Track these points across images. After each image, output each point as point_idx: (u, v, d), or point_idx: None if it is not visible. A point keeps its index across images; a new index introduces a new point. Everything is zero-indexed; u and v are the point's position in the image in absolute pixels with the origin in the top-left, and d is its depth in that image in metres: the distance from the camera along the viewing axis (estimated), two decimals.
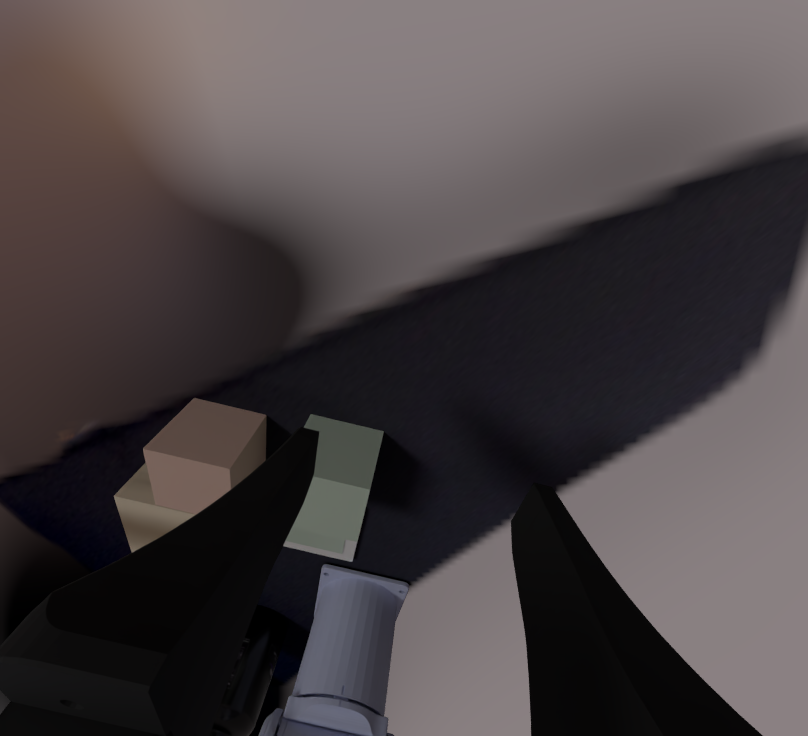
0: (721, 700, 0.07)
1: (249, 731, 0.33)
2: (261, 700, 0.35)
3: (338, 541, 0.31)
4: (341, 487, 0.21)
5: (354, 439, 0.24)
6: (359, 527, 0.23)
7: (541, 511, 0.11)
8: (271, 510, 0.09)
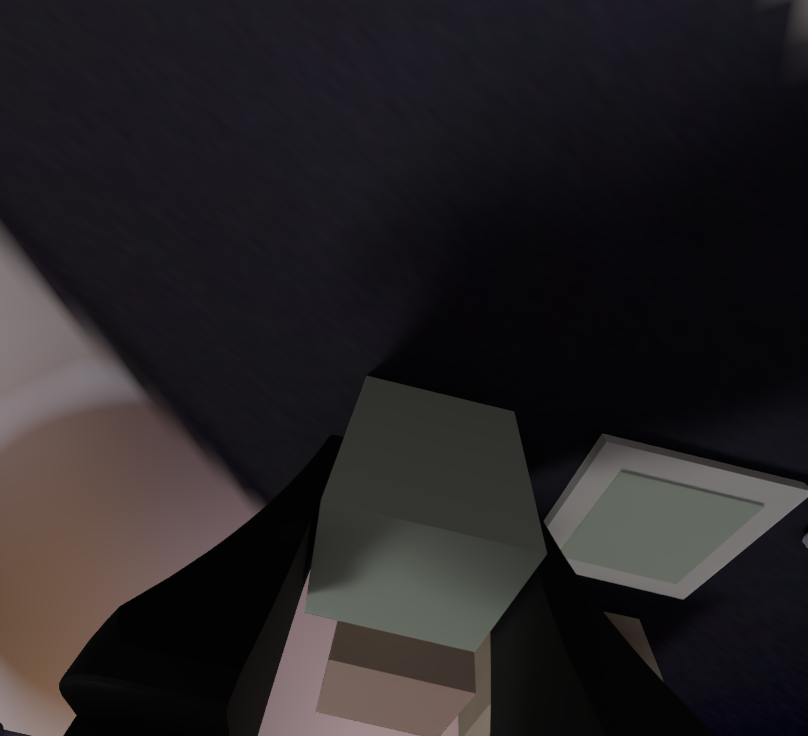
0: (665, 687, 0.07)
1: None
2: None
3: (708, 505, 0.13)
4: (329, 546, 0.09)
5: None
6: (479, 540, 0.08)
7: None
8: (313, 520, 0.09)
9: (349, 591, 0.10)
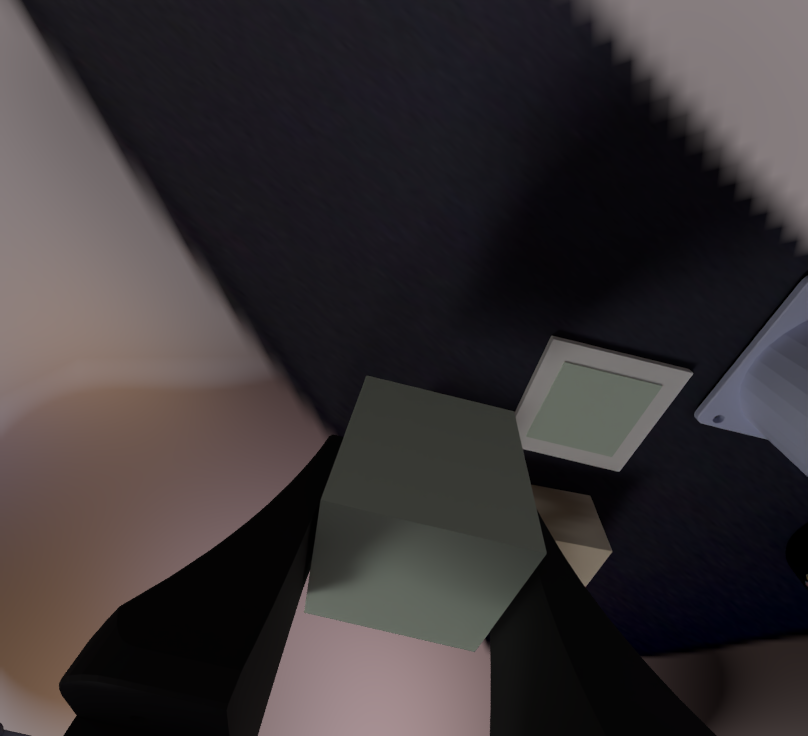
0: (665, 687, 0.07)
1: None
2: None
3: (625, 386, 0.19)
4: (329, 546, 0.09)
5: None
6: (479, 539, 0.08)
7: None
8: (313, 520, 0.09)
9: (349, 591, 0.10)
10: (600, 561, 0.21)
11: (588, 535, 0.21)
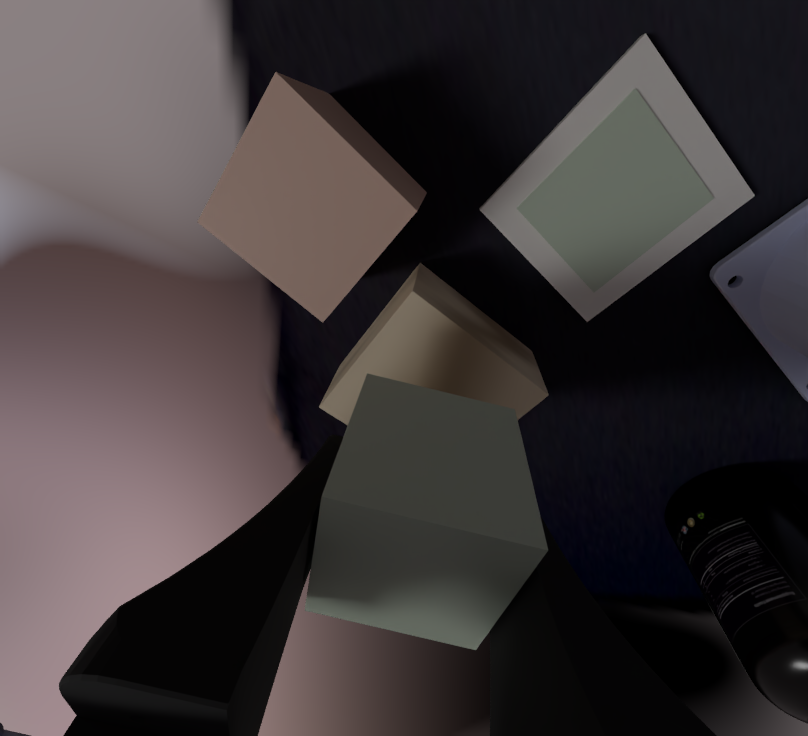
0: (665, 687, 0.07)
1: None
2: None
3: (676, 176, 0.14)
4: (330, 543, 0.09)
5: None
6: (480, 536, 0.08)
7: None
8: (313, 520, 0.09)
9: (350, 588, 0.10)
10: (526, 407, 0.16)
11: (526, 370, 0.16)
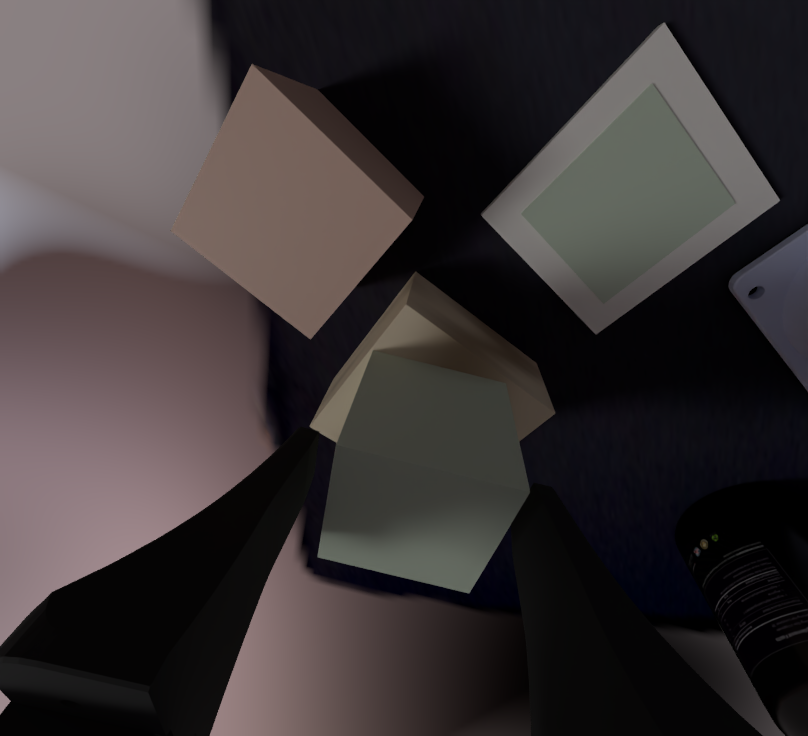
0: (721, 700, 0.07)
1: None
2: None
3: (694, 179, 0.12)
4: (342, 490, 0.10)
5: None
6: (471, 480, 0.09)
7: (541, 511, 0.11)
8: (271, 510, 0.09)
9: (358, 534, 0.11)
10: (530, 426, 0.14)
11: (530, 386, 0.14)
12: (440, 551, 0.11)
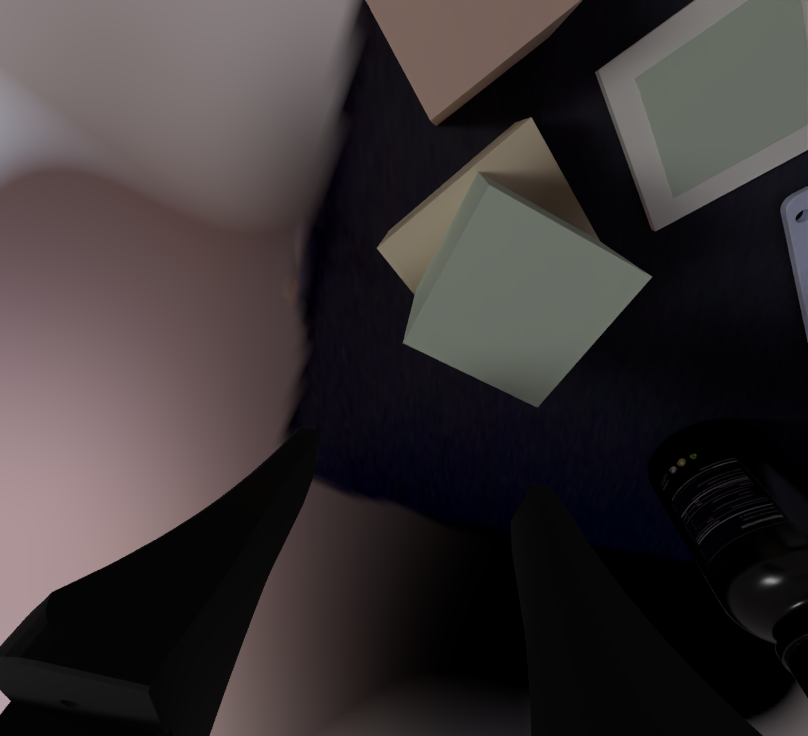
0: (721, 700, 0.07)
1: None
2: None
3: (794, 83, 0.14)
4: (468, 250, 0.10)
5: (454, 223, 0.13)
6: (604, 253, 0.10)
7: (541, 511, 0.11)
8: (271, 511, 0.09)
9: (459, 314, 0.11)
10: None
11: None
12: (533, 347, 0.11)
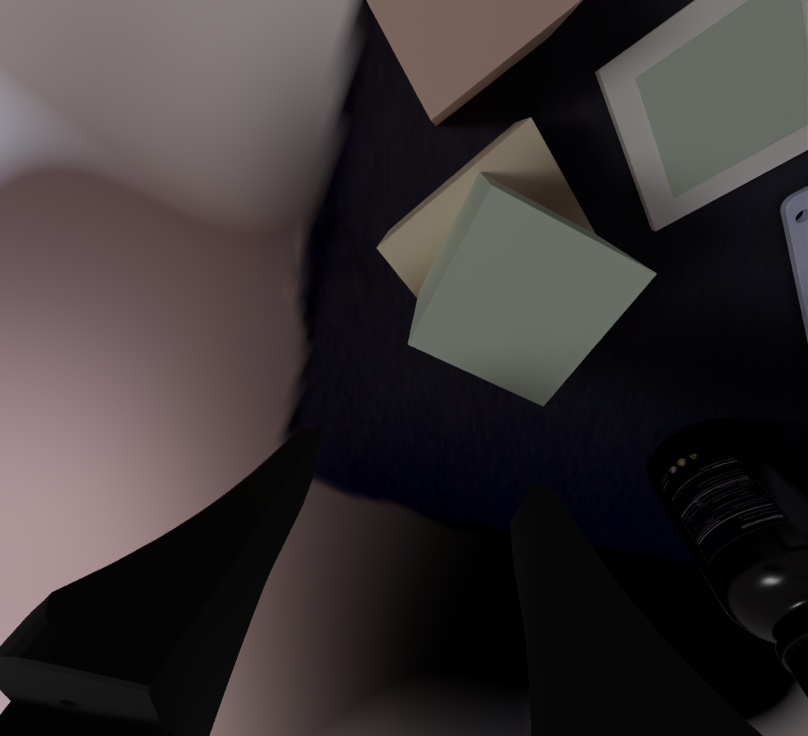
0: (721, 700, 0.07)
1: None
2: None
3: (794, 83, 0.14)
4: (471, 250, 0.10)
5: (456, 223, 0.13)
6: (608, 251, 0.10)
7: (541, 511, 0.11)
8: (271, 511, 0.09)
9: (464, 315, 0.11)
10: None
11: None
12: (538, 346, 0.11)
